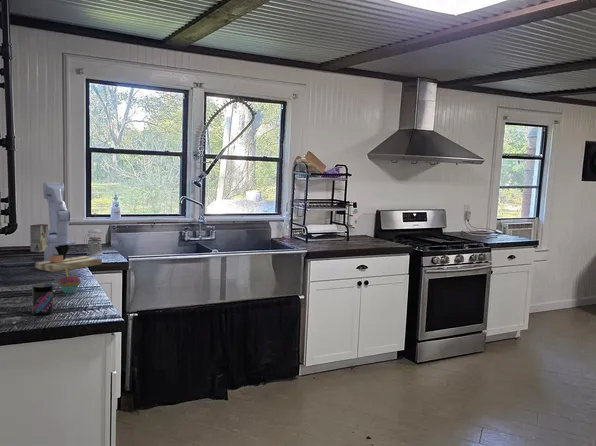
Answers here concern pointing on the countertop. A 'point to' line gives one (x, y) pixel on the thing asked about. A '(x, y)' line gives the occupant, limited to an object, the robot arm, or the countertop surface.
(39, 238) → the coffee box
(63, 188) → the robot arm
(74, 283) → the cupcake
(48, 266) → the fader console
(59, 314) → the countertop surface
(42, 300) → the supplement container
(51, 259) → the fader knob
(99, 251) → the french press
